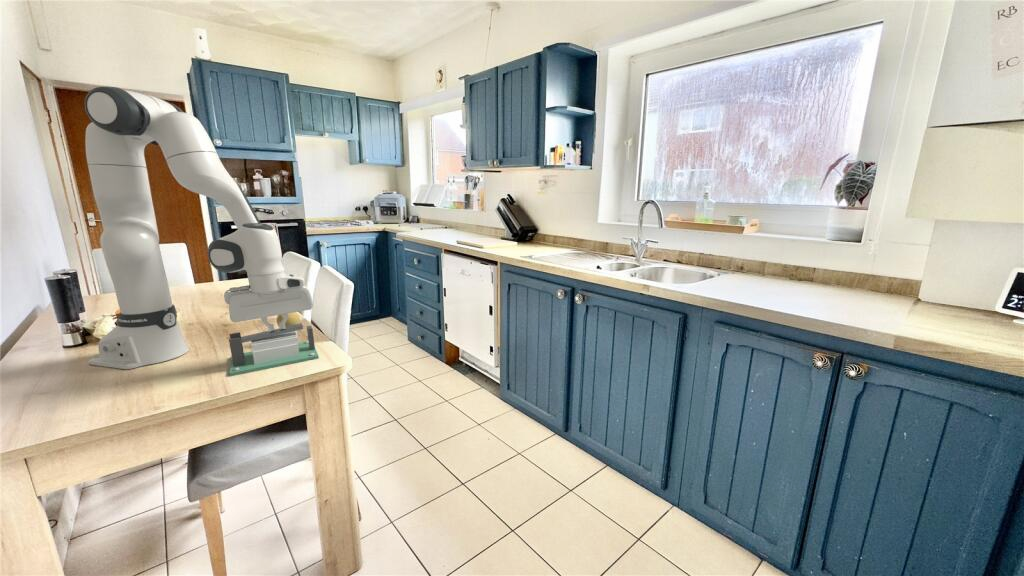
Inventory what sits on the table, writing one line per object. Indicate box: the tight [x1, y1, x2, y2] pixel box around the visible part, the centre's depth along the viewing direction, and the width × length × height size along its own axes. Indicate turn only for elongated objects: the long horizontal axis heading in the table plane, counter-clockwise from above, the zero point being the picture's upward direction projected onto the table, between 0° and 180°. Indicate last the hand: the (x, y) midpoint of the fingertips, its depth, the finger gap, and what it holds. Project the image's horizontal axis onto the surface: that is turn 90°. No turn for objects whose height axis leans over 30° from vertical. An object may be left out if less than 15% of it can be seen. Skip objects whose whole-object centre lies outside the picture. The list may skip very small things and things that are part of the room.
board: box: [228, 325, 320, 377], centre depth 114 cm, size 21×14×8 cm, turn 123°
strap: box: [240, 323, 304, 344], centre depth 113 cm, size 17×3×1 cm, turn 123°
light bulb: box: [276, 312, 301, 340], centre depth 127 cm, size 6×6×10 cm
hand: (277, 330), depth 114 cm, fingers closed
